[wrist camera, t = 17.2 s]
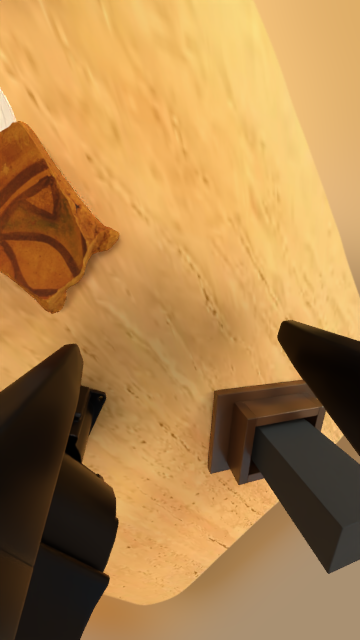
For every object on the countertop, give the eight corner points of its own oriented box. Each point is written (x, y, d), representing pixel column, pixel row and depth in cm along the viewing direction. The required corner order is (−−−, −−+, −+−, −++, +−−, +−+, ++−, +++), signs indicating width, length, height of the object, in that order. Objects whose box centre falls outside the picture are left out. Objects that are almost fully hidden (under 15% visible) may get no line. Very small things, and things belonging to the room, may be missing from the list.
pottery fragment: (53, 320, 15) (-139, 215, 10) (61, 306, 19) (-74, 226, 14) (134, 219, 15) (-17, 66, 10) (125, 226, 19) (14, 119, 14)
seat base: (207, 467, 27) (220, 498, 23) (214, 390, 24) (230, 412, 21) (300, 445, 31) (323, 469, 27) (314, 378, 28) (343, 394, 25)
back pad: (242, 446, 27) (328, 574, 15) (247, 414, 25) (342, 528, 14) (285, 437, 28) (389, 546, 17) (291, 407, 27) (406, 503, 16)
